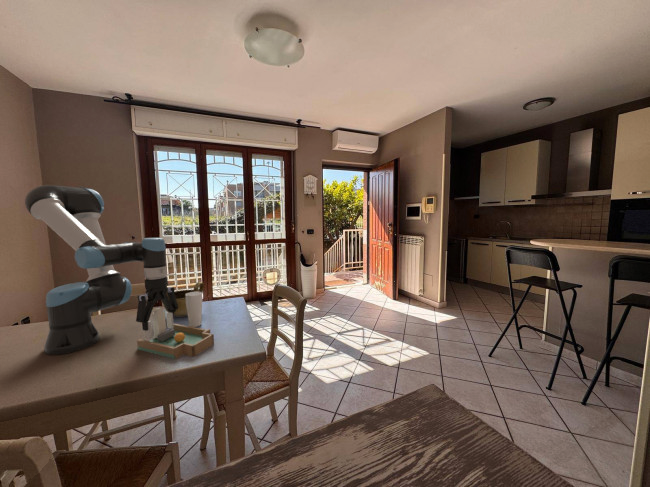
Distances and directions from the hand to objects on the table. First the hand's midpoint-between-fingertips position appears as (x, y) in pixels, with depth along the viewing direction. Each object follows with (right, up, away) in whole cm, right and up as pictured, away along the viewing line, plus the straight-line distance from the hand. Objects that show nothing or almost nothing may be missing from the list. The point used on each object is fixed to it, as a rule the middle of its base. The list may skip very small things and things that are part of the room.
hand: (159, 332), depth 103 cm
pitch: (+10, -4, -3) cm, 11 cm away
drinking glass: (+7, -2, +15) cm, 16 cm away
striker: (+1, -2, 0) cm, 2 cm away
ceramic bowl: (-6, -1, +28) cm, 28 cm away
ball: (+10, -1, -3) cm, 11 cm away
